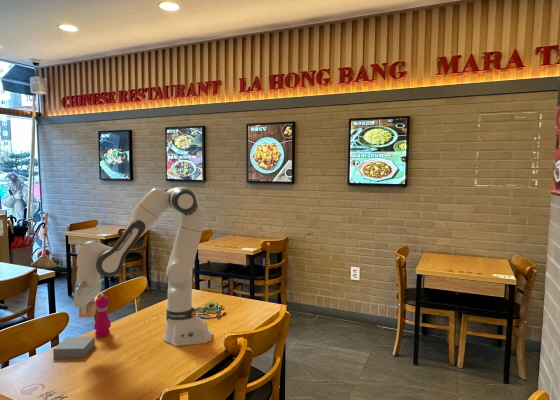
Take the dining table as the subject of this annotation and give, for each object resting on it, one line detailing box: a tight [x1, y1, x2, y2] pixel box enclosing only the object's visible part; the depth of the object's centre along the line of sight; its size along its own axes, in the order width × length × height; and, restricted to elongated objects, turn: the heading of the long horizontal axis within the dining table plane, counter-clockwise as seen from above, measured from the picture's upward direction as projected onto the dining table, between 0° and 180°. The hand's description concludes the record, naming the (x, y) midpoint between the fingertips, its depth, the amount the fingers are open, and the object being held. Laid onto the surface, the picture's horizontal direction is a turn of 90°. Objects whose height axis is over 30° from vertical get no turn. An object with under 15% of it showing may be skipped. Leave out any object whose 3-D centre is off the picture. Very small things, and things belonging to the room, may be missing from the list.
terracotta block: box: [78, 301, 97, 319], centre depth 165 cm, size 5×5×5 cm
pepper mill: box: [93, 292, 112, 338], centre depth 184 cm, size 7×7×20 cm
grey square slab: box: [52, 336, 96, 359], centre depth 166 cm, size 12×12×4 cm
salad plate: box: [195, 301, 224, 318], centre depth 216 cm, size 19×18×5 cm
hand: (87, 310), depth 165 cm, fingers closed on terracotta block, 5 cm apart
